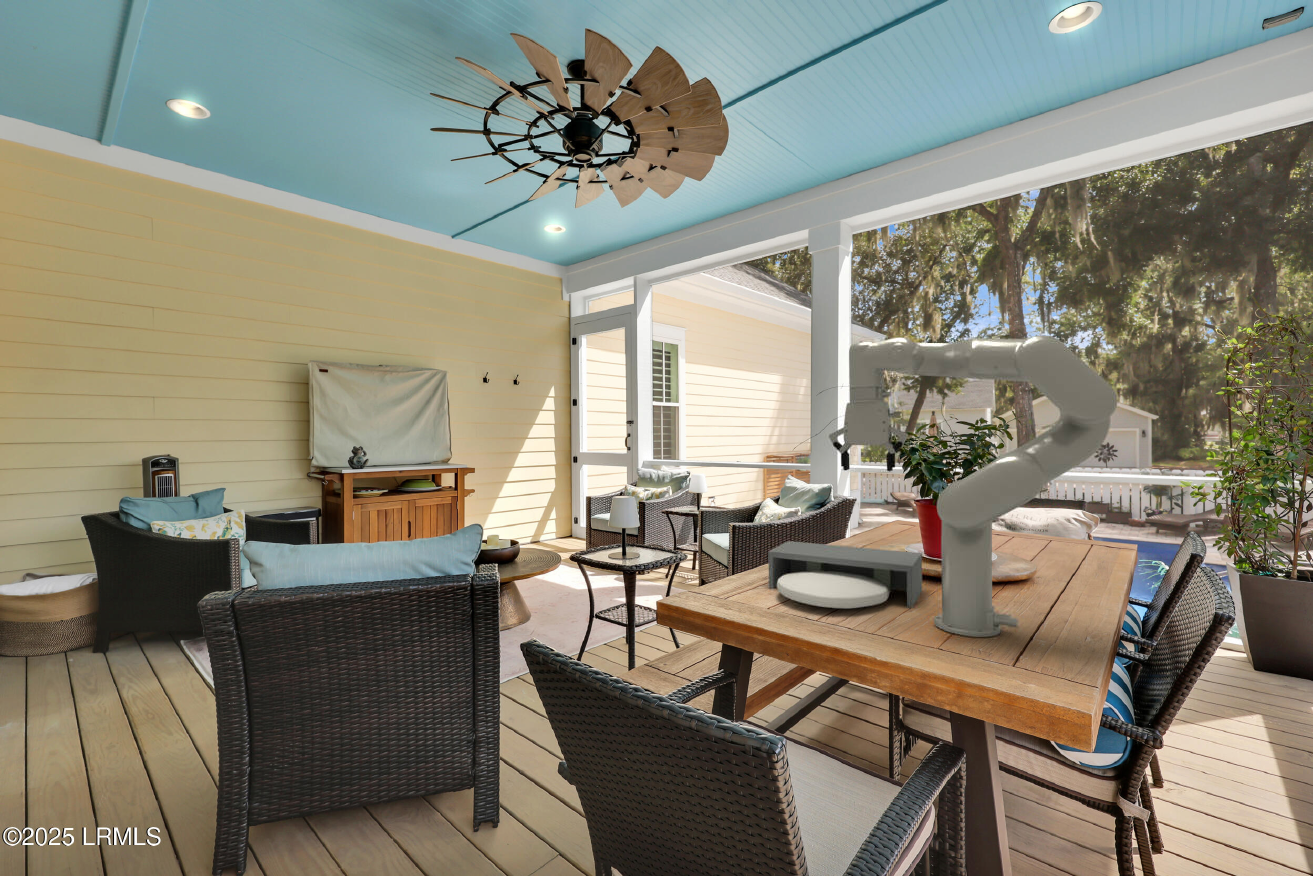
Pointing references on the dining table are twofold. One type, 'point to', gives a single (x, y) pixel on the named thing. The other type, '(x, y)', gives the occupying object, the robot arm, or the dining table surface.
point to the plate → (832, 589)
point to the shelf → (850, 564)
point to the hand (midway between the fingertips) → (867, 470)
